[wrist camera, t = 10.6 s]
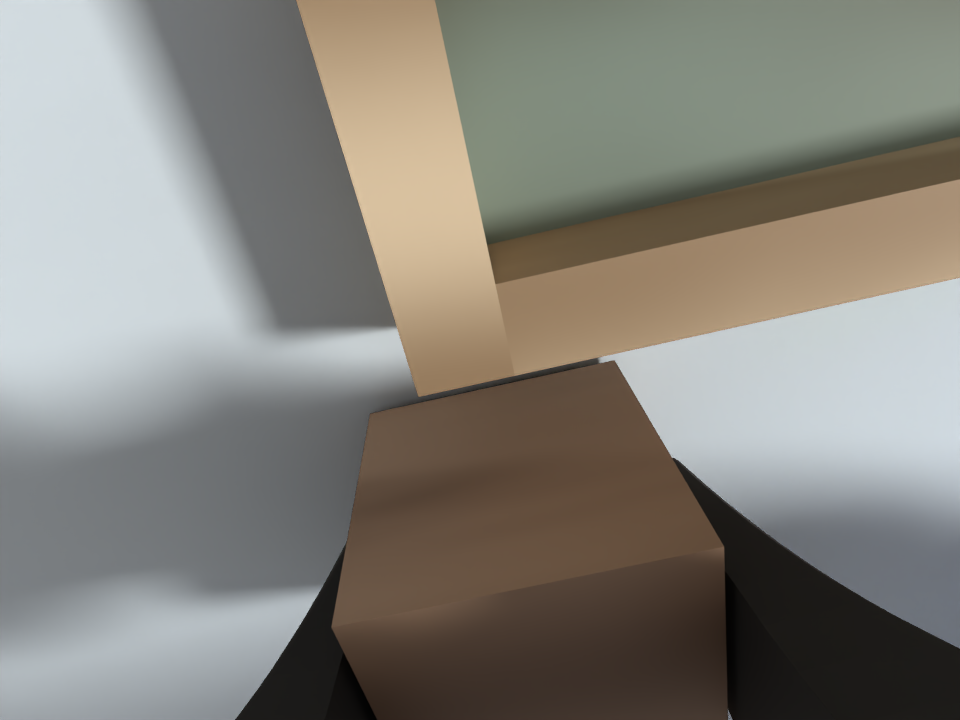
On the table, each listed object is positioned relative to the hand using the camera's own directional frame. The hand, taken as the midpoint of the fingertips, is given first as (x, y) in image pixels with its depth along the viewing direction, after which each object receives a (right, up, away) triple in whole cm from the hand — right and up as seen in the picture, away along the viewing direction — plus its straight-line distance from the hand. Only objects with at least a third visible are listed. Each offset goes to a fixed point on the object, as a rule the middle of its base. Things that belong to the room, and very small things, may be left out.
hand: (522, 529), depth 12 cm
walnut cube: (0, +1, +1) cm, 1 cm away
